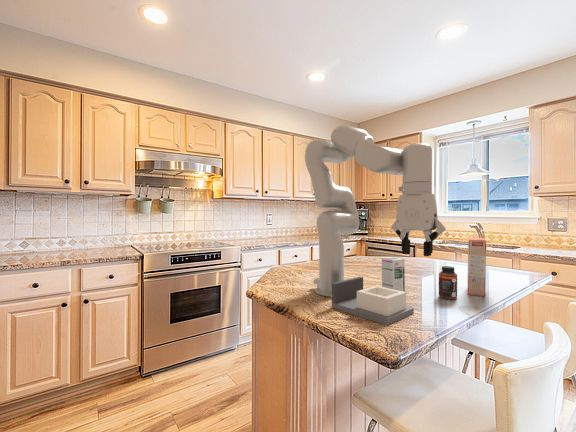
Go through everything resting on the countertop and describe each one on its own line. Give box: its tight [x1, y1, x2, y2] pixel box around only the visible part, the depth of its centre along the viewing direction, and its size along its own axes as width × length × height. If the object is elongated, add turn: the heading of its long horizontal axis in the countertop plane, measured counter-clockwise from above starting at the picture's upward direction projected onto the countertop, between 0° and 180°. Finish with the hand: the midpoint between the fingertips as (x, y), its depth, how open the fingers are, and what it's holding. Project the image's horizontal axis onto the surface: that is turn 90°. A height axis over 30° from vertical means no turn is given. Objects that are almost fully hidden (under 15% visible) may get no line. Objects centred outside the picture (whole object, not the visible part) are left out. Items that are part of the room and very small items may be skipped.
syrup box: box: [381, 256, 406, 292], centre depth 108 cm, size 6×6×14 cm
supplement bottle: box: [438, 265, 458, 301], centre depth 108 cm, size 6×6×11 cm
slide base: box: [331, 276, 415, 326], centre depth 94 cm, size 20×15×8 cm
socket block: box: [357, 285, 407, 316], centre depth 91 cm, size 11×11×5 cm
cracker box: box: [467, 237, 487, 297], centre depth 116 cm, size 14×6×21 cm, turn 148°
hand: (416, 254), depth 83 cm, fingers open, 5 cm apart
